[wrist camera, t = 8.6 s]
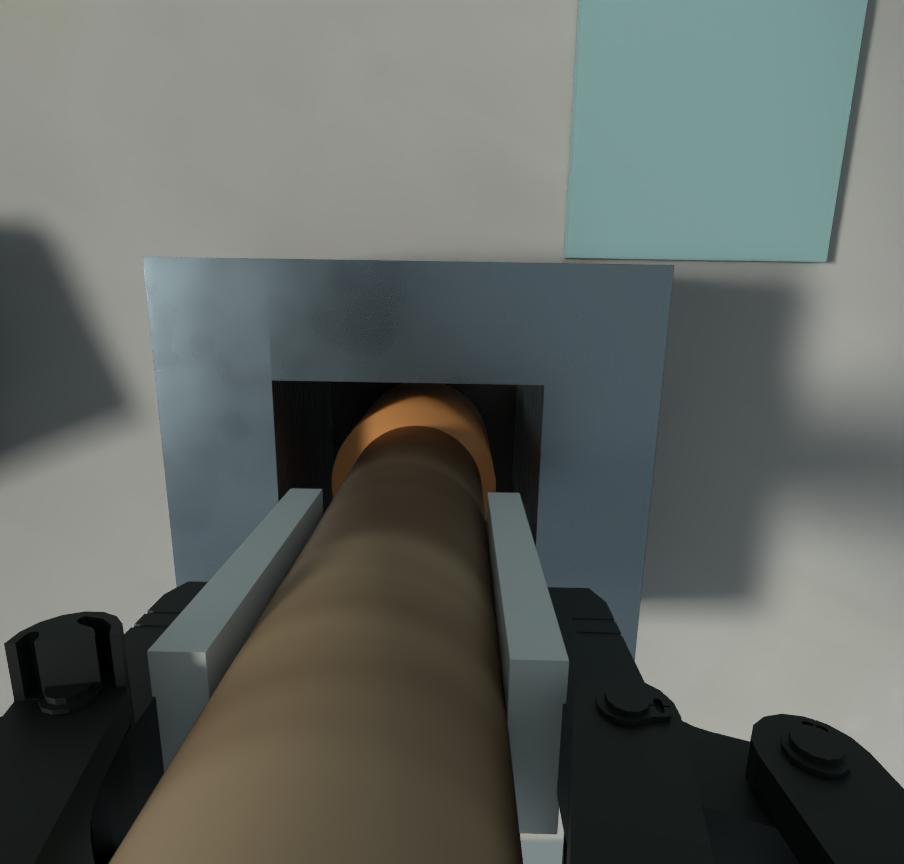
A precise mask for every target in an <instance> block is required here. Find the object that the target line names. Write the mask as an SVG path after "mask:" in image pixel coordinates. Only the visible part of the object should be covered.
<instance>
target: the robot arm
mask: <svg viewBox="0 0 904 864" xmlns="http://www.w3.org/2000/svg"><path fill="white" fill-rule="evenodd" d="M322 516H323V496H322V489H296V488H291V489H290V490H289V491H288V492H287V493H286V494H285V495H284V496H283V498H282V499H281V500H280V501H279V502H278V503H277V504H276V506H275V507H274V508H273V509H272V510H271V511H270V512H269V513H268V515H267V516H266V517H265V518H264V519H263V520H262V521H261V523H260V524H259V525H258V526H257V527H256V528H255V529H254V531H253V532H252V533H251V534H250V535H249V536H248V537H247V538H246V540H245V541H244V542H243V543H242V544H241V545H240V546H239V548H238V549H237V550H236V551H235V552H234V553H233V554H232V555H231V557H230V558H229V559H228V560H227V561H226V562H225V563H224V565H223V566H222V567H221V568H220V569H219V570H218V571H217V572H216V574H215V575H214V576H213V577H212V578H211V579H210V580H209V582H195V581H188V582H186V583H184V584H182V585H181V586H179V587H177V588H175V589H173V590H171V591H170V592H168V593H166V594H164V595H163V596H162V597H161V598H160V599H159V600H158V601H157V602H156V603H155V604H154V605H153V606H152V607H151V608H150V609H149V610H148V613H147V614H144V615H143V616H142V617H141V618H140V619H139V620H138V621H137V622H136V623H135V626H134V628H130V629H129V630H128V631H127V632H126V633H125V634H124V633H123V625H122V623H121V621H120V620H119V619H118V618H117V616H114V615H111V614H108V613H105V612H80V613H73V614H67V615H62V616H58V617H55V618H52V619H49V620H45V621H42V622H39V623H37V624H35V625H33V626H31V627H29V628H27V629H25V630H23V631H21V632H19V633H18V634H16V635H15V636H14V637H12V638H11V639H10V640H9V641H7V642H6V643H5V644H4V645H5V651H6V656H7V662H8V667H9V673H10V679H11V684H12V690H13V696H14V703H13V704H12V705H11V706H10V708H9V709H8V710H7V711H6V713H5V714H4V715H3V716H2V717H0V864H108V863H109V861H110V860H111V858H112V856H113V855H114V853H115V852H116V850H117V848H118V847H119V845H120V844H121V842H122V840H123V839H124V837H125V835H126V834H127V832H128V831H129V829H130V827H131V826H132V824H133V822H134V821H135V819H136V818H137V816H138V814H139V813H140V811H141V809H142V808H143V806H144V805H145V803H146V801H147V800H148V798H149V796H150V795H151V793H152V792H153V790H154V788H155V787H156V785H157V783H158V782H159V780H160V779H161V777H162V775H163V774H164V772H165V771H166V769H167V767H168V766H169V764H170V762H171V761H172V759H173V758H174V756H175V754H176V753H177V751H178V749H179V748H180V746H181V745H182V743H183V741H184V740H185V738H186V736H187V735H188V733H189V732H190V730H191V728H192V727H193V725H194V723H195V722H196V720H197V719H198V717H199V715H200V714H201V712H202V711H203V709H204V707H205V706H206V704H207V702H208V701H209V699H210V698H211V696H212V694H213V693H214V691H215V689H216V688H217V686H218V685H219V683H220V681H221V680H222V678H223V676H224V675H225V673H226V672H227V670H228V668H229V667H230V665H231V663H232V662H233V660H234V659H235V657H236V655H237V654H238V652H239V650H240V649H241V647H242V646H243V644H244V642H245V641H246V639H247V638H248V636H249V634H250V633H251V631H252V629H253V628H254V626H255V625H256V623H257V621H258V620H259V618H260V616H261V615H262V613H263V612H264V610H265V608H266V607H267V605H268V603H269V602H270V600H271V599H272V597H273V595H274V594H275V592H276V590H277V589H278V587H279V586H280V584H281V582H282V581H283V579H284V578H285V576H286V574H287V573H288V571H289V569H290V568H291V566H292V565H293V563H294V561H295V560H296V558H297V556H298V555H299V553H300V552H301V550H302V548H303V547H304V545H305V543H306V542H307V540H308V539H309V537H310V535H311V534H312V532H313V530H314V529H315V527H316V526H317V524H318V522H319V521H320V519H321V517H322ZM486 530H487V540H488V549H489V558H490V568H491V577H492V586H493V596H494V605H495V614H496V624H497V633H498V642H499V652H500V661H501V670H502V680H503V689H504V698H505V708H506V717H507V726H508V731H509V740H510V749H511V758H512V767H513V777H514V786H515V795H516V804H517V813H518V823H519V832H520V833H534V834H557V828H558V814H559V808H560V813H561V818H562V824H563V829H564V843H563V856H562V864H904V789H903V788H902V787H901V785H900V784H899V783H898V782H897V781H896V780H895V779H894V778H893V777H892V776H891V775H890V774H889V773H888V772H887V771H886V770H885V769H884V767H883V766H882V765H881V764H880V763H879V762H878V761H877V760H876V759H875V758H874V757H873V756H872V755H871V754H870V753H869V752H868V751H867V750H866V749H864V748H863V747H862V746H861V745H860V744H858V743H857V742H856V741H855V740H854V739H852V738H851V737H849V736H848V735H846V734H844V733H842V732H840V731H838V730H837V729H835V728H833V727H831V726H829V725H827V724H824V723H822V722H819V721H817V720H816V721H815V720H813V719H810V718H806V717H803V716H795V715H787V714H778V715H772V716H766V717H763V718H762V719H761V720H759V721H758V722H757V723H755V724H754V725H753V730H752V735H751V741H750V742H749V741H745V740H741V739H737V738H733V737H729V736H725V735H721V734H717V733H713V732H709V731H706V730H703V729H700V728H697V727H694V726H692V725H690V724H688V723H686V722H683V721H682V720H681V716H680V714H679V712H678V710H677V708H676V706H675V705H674V703H673V702H672V701H671V700H670V699H669V698H668V697H667V696H666V695H664V694H663V693H662V692H661V691H660V690H658V689H656V688H654V687H652V686H650V685H648V684H646V683H644V680H643V678H642V676H641V674H640V672H639V670H638V668H637V666H636V664H635V661H634V659H633V657H632V655H631V653H630V651H629V649H628V647H627V645H626V642H625V640H624V638H623V636H621V632H620V630H619V628H618V626H617V623H616V622H614V617H613V615H612V613H611V611H610V609H609V607H608V604H607V602H605V601H604V600H603V599H602V598H601V597H599V596H598V595H597V594H596V593H594V592H593V591H592V590H591V589H589V588H564V587H547V584H546V581H545V578H544V574H543V571H542V567H541V564H540V561H539V557H538V554H537V550H536V547H535V544H534V540H533V537H532V534H531V530H530V527H529V523H528V520H527V517H526V513H525V510H524V507H523V503H522V500H521V496H520V493H497V492H488V497H487V529H486Z"/></svg>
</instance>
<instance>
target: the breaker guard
mask: <svg viewBox="0 0 904 864" xmlns="http://www.w3.org/2000/svg"><path fill="white" fill-rule="evenodd" d="M143 265H144V275H145V284H146V294H147V304H148V313H149V323H150V333H151V342H152V352H153V362H154V371H155V381H156V391H157V400H158V410H159V420H160V429H161V439H162V449H163V458H164V468H165V478H166V487H167V497H168V507H169V516H170V526H171V536H172V546H173V555H174V565H175V575H176V584H177V587H179V586H181V585H182V584H184V583H186V582H188V581H195V582H209V580H210V579H211V578H212V577H213V576H214V575H215V574H216V572H217V571H218V570H219V569H220V568H221V567H222V566H223V565H224V563H225V562H226V561H227V560H228V559H229V558H230V557H231V555H232V554H233V553H234V552H235V551H236V550H237V549H238V548H239V546H240V545H241V544H242V543H243V542H244V541H245V540H246V538H247V537H248V536H249V535H250V534H251V533H252V532H253V531H254V529H255V528H256V527H257V526H258V525H259V524H260V523H261V521H262V520H263V519H264V518H265V517H266V516H267V515H268V513H269V512H270V511H271V510H272V509H273V508H274V507H275V506H276V504H277V503H278V502H279V501H280V500H281V499H282V498H283V496H284V495H285V494H286V493H287V492H288V491H289V490H290V489H291V488H296V489H322V496H323V514H324V513H325V511H326V509H327V508H328V506H329V505H330V503H331V501H332V500H333V493H332V472H333V467H334V458H333V428H332V397H331V381H335V382H393V383H451V384H509V385H516V409H515V432H514V456H513V480H512V493H520V496H521V500H522V503H523V507H524V510H525V513H526V517H527V520H528V523H529V527H530V530H531V534H532V537H533V540H534V544H535V547H536V550H537V554H538V557H539V561H540V564H541V567H542V571H543V574H544V578H545V581H546V584H547V587H564V588H589V589H591V590H592V591H593V592H594V593H596V594H597V595H598V596H599V597H601V598H602V599H603V600H604V601H605V602H607V604H608V607H609V609H610V611H611V613H612V615H613V617H614V622H616V623H617V626H618V628H619V630H620V632H621V636H623V638H624V640H625V642H626V645H627V647H628V649H629V651H630V653H631V655H632V657H633V659H634V660H635V651H636V641H637V631H638V621H639V611H640V601H641V591H642V581H643V571H644V561H645V551H646V541H647V531H648V521H649V511H650V501H651V491H652V481H653V471H654V461H655V451H656V441H657V431H658V421H659V411H660V401H661V391H662V381H663V371H664V362H665V352H666V342H667V332H668V322H669V312H670V302H671V292H672V282H673V272H674V265H631V264H567V263H503V262H440V261H376V260H312V259H249V258H185V257H143Z"/></svg>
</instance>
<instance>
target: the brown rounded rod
mask: <svg viewBox="0 0 904 864" xmlns="http://www.w3.org/2000/svg"><path fill="white" fill-rule="evenodd" d="M486 529H487V528H486V519H485V510H484V500H483V491H482V482H481V477H480V473H479V470H478V467H477V464H476V462H475V460H474V459H473V457H472V455H471V454H470V452H469V451H468V450H467V449H466V448H465V447H464V446H463V445H462V444H461V443H460V442H459V441H458V440H457V439H455V438H454V437H452V436H451V435H449V434H447V433H445V432H443V431H440V430H437V429H435V428H430V427H426V426H405V427H399V428H396V429H393V430H390V431H388V432H386V433H383V434H382V435H380V436H379V437H377V438H375V439H374V440H373V441H372V442H371V443H370V444H369V445H368V446H367V447H366V448H365V449H364V450H363V452H362V453H361V454H360V456H359V457H358V459H357V461H356V462H355V464H354V466H353V467H352V469H351V470H350V472H349V474H348V475H347V477H346V479H345V480H344V482H343V483H342V485H341V487H340V488H339V490H338V492H337V493H336V495H335V496H334V498H333V500H332V501H331V503H330V505H329V506H328V508H327V509H326V511H325V513H324V514H323V516H322V517H321V519H320V521H319V522H318V524H317V526H316V527H315V529H314V530H313V532H312V534H311V535H310V537H309V539H308V540H307V542H306V543H305V545H304V547H303V548H302V550H301V552H300V553H299V555H298V556H297V558H296V560H295V561H294V563H293V565H292V566H291V568H290V569H289V571H288V573H287V574H286V576H285V578H284V579H283V581H282V582H281V584H280V586H279V587H278V589H277V590H276V592H275V594H274V595H273V597H272V599H271V600H270V602H269V603H268V605H267V607H266V608H265V610H264V612H263V613H262V615H261V616H260V618H259V620H258V621H257V623H256V625H255V626H254V628H253V629H252V631H251V633H250V634H249V636H248V638H247V639H246V641H245V642H244V644H243V646H242V647H241V649H240V650H239V652H238V654H237V655H236V657H235V659H234V660H233V662H232V663H231V665H230V667H229V668H228V670H227V672H226V673H225V675H224V676H223V678H222V680H221V681H220V683H219V685H218V686H217V688H216V689H215V691H214V693H213V694H212V696H211V698H210V699H209V701H208V702H207V704H206V706H205V707H204V709H203V711H202V712H201V714H200V715H199V717H198V719H197V720H196V722H195V723H194V725H193V727H192V728H191V730H190V732H189V733H188V735H187V736H186V738H185V740H184V741H183V743H182V745H181V746H180V748H179V749H178V751H177V753H176V754H175V756H174V758H173V759H172V761H171V762H170V764H169V766H168V767H167V769H166V771H165V772H164V774H163V775H162V777H161V779H160V780H159V782H158V783H157V785H156V787H155V788H154V790H153V792H152V793H151V795H150V796H149V798H148V800H147V801H146V803H145V805H144V806H143V808H142V809H141V811H140V813H139V814H138V816H137V818H136V819H135V821H134V822H133V824H132V826H131V827H130V829H129V831H128V832H127V834H126V835H125V837H124V839H123V840H122V842H121V844H120V845H119V847H118V848H117V850H116V852H115V853H114V855H113V856H112V858H111V860H110V861H109V863H108V864H523V859H522V850H521V841H520V832H519V823H518V813H517V804H516V795H515V786H514V777H513V767H512V758H511V749H510V740H509V731H508V726H507V717H506V708H505V698H504V689H503V680H502V670H501V661H500V652H499V642H498V633H497V624H496V614H495V605H494V596H493V586H492V577H491V568H490V558H489V549H488V540H487V530H486Z"/></svg>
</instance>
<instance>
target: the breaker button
mask: <svg viewBox="0 0 904 864" xmlns="http://www.w3.org/2000/svg"><path fill="white" fill-rule="evenodd" d="M405 426H426V427H430V428H435V429H437V430H440V431H443V432H445V433H447V434H449V435H451V436H452V437H454V438H455V439H457V440H458V441H459V442H460V443H461V444H462V445H463V446H464V447H465V448H466V449H467V450H468V451H469V452H470V454H471V455H472V457H473V459H474V460H475V462H476V464H477V467H478V470H479V473H480V477H481V482H482V491H483V500H484V510H485V519H486V521H487V497H488V492H496V478H495V472H494V466H493V461H492V456H491V451H490V446H489V441H488V436H487V431H486V427H485V424H484V421H483V419H482V417H481V415H480V413H479V412H478V410H477V409H476V407H475V406H474V405H473V404H472V402H471V401H470V400H469V399H468V398H466V397H465V396H464V395H463V394H461V393H460V392H459V391H457V390H455V389H453V388H451V387H449V386H447V385H444V384H441V383H404V384H401V385H398V386H396V387H394V388H392V389H390V390H388V391H387V392H385V393H384V394H383V395H381V396H380V397H379V398H378V399H377V400H376V401H375V402H374V403H373V404H372V406H371V407H370V408H369V410H368V411H367V412H366V413H365V415H364V416H363V417H362V419H361V420H360V421H359V422H358V424H357V425H356V426H355V428H354V429H353V430H352V432H351V433H350V434H349V435H348V437H347V438H346V440H345V441H344V443H343V444H342V446H341V448H340V450H339V452H338V454H337V457H336V460H335V463H334V467H333V472H332V493H333V498H334V496H335V495H336V493H337V492H338V490H339V488H340V487H341V485H342V483H343V482H344V480H345V479H346V477H347V475H348V474H349V472H350V470H351V469H352V467H353V466H354V464H355V462H356V461H357V459H358V457H359V456H360V454H361V453H362V452H363V450H364V449H365V448H366V447H367V446H368V445H369V444H370V443H371V442H372V441H373V440H374V439H375V438H377V437H379V436H380V435H382V434H383V433H386V432H388V431H390V430H393V429H396V428H399V427H405Z"/></svg>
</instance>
